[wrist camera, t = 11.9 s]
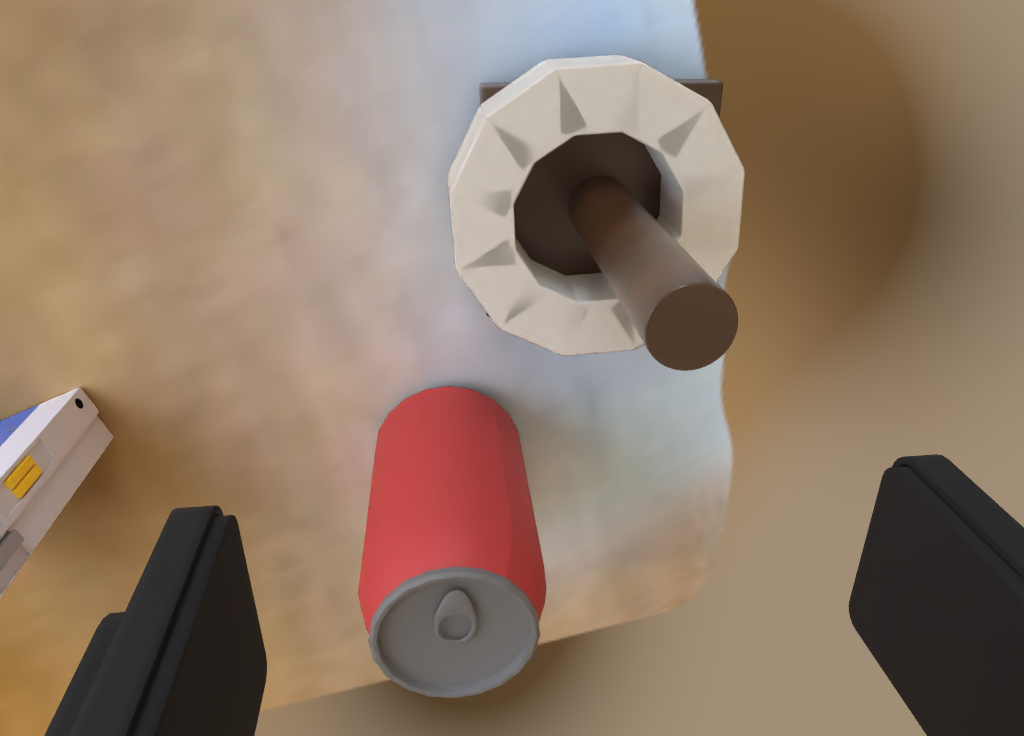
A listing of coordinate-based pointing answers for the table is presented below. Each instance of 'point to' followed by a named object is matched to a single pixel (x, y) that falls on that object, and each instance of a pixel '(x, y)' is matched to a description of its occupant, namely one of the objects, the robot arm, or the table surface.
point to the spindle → (624, 239)
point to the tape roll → (544, 127)
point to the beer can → (451, 547)
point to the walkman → (43, 471)
